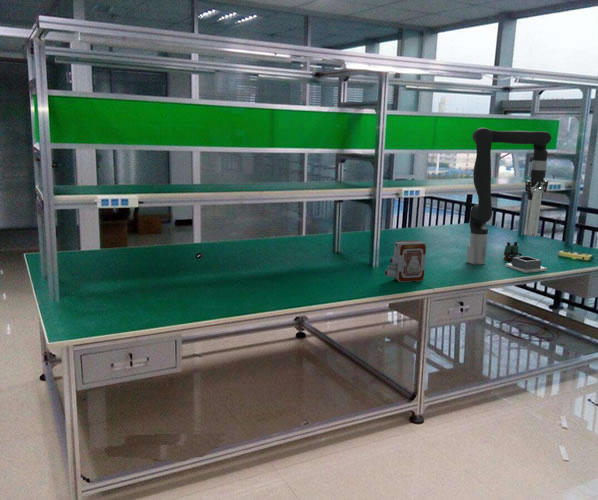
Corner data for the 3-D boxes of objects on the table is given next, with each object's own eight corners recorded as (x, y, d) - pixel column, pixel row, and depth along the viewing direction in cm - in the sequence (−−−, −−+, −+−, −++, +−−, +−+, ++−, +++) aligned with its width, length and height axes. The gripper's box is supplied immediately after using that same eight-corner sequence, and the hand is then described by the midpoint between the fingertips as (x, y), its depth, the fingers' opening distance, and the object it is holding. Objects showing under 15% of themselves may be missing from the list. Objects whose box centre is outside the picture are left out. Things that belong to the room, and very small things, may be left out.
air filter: (523, 235, 307) (529, 189, 302) (524, 233, 312) (530, 189, 307) (536, 236, 304) (542, 190, 299) (537, 234, 310) (542, 189, 304)
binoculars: (513, 246, 316) (503, 241, 325) (510, 263, 319) (500, 258, 328) (527, 245, 317) (517, 240, 327) (524, 263, 321) (514, 257, 330)
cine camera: (381, 279, 279) (383, 240, 275) (417, 277, 283) (419, 238, 279) (388, 283, 270) (390, 243, 266) (425, 282, 274) (428, 242, 270)
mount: (524, 272, 295) (525, 262, 294) (505, 266, 309) (506, 256, 308) (546, 270, 301) (547, 260, 300) (526, 264, 314) (527, 254, 313)
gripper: (533, 169, 295) (529, 200, 298) (554, 169, 300) (550, 200, 303) (523, 168, 301) (519, 199, 305) (543, 168, 307) (539, 198, 310)
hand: (534, 199), depth 304 cm, fingers closed on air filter, 6 cm apart
